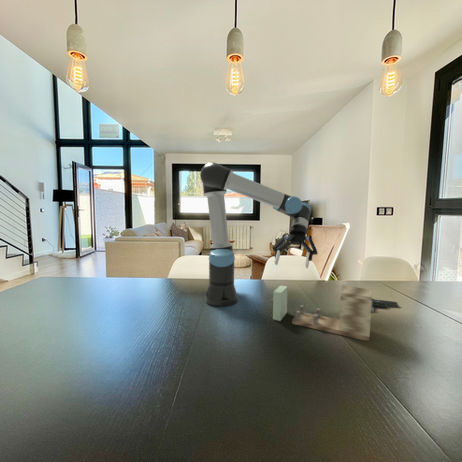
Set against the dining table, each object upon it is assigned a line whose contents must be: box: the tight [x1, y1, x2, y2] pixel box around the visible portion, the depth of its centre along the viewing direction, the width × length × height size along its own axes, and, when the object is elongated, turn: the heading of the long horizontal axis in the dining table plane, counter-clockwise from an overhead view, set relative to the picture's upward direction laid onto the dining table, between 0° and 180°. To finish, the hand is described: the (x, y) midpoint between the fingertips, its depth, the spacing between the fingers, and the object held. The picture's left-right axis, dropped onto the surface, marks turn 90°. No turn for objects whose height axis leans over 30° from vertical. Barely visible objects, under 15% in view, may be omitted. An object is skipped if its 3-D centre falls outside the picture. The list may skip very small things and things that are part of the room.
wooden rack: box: [291, 285, 373, 342], centre depth 86 cm, size 25×9×15 cm, turn 61°
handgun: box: [371, 298, 399, 313], centre depth 105 cm, size 3×18×12 cm
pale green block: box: [270, 285, 289, 322], centre depth 96 cm, size 4×9×11 cm, turn 151°
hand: (290, 264), depth 105 cm, fingers open, 13 cm apart
